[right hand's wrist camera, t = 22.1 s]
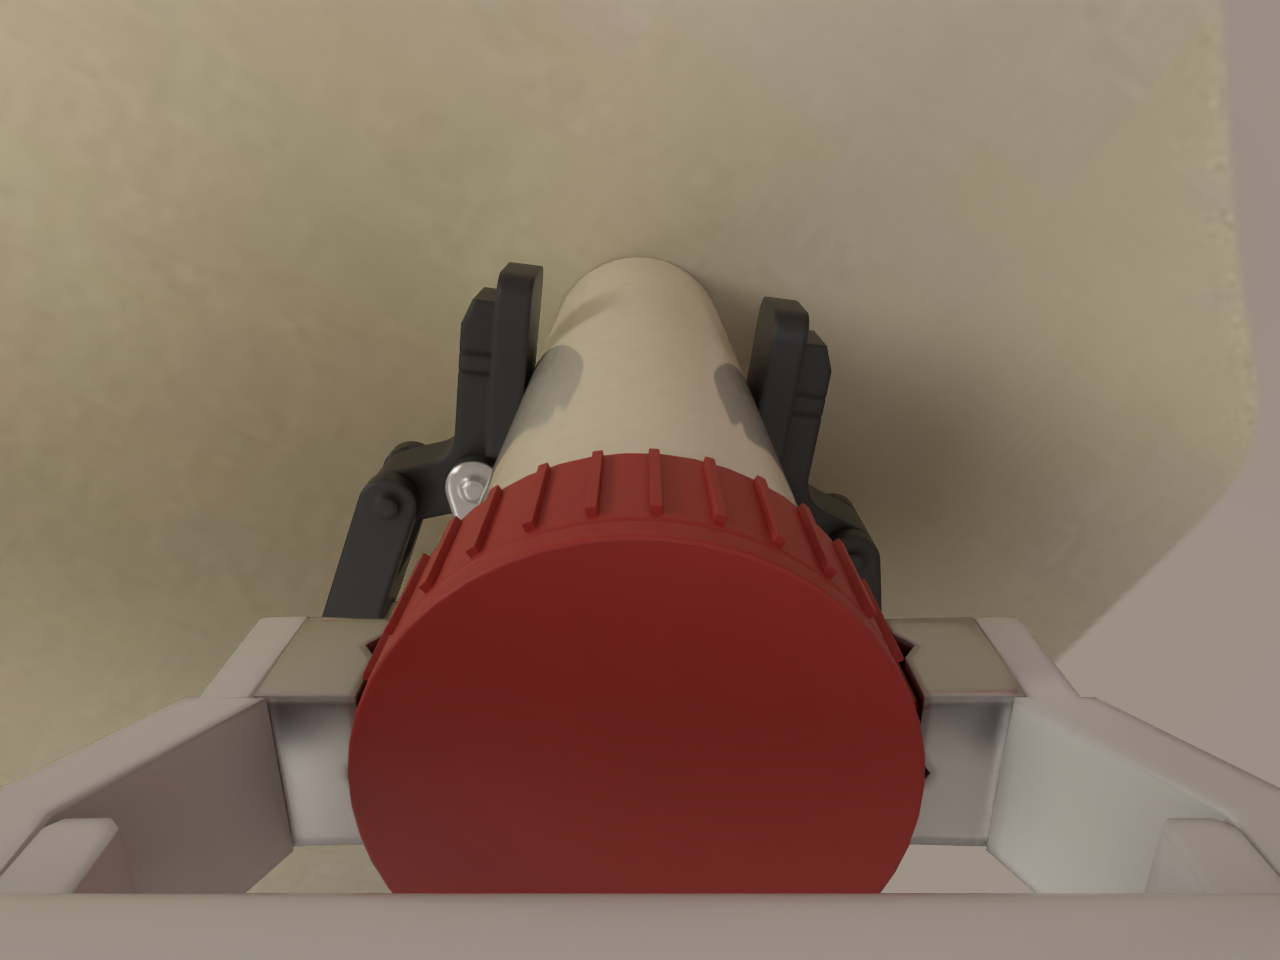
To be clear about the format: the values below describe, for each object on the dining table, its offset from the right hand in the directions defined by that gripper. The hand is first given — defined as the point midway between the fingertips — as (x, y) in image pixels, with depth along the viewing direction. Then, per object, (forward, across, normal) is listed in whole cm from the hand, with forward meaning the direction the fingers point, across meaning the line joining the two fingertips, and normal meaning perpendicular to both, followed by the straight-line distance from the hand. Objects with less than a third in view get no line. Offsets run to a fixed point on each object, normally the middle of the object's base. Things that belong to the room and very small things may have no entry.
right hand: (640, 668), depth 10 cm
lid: (-2, 0, 0) cm, 2 cm away
